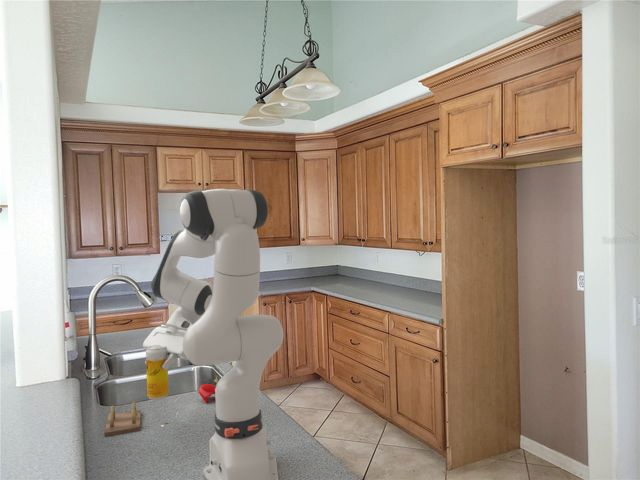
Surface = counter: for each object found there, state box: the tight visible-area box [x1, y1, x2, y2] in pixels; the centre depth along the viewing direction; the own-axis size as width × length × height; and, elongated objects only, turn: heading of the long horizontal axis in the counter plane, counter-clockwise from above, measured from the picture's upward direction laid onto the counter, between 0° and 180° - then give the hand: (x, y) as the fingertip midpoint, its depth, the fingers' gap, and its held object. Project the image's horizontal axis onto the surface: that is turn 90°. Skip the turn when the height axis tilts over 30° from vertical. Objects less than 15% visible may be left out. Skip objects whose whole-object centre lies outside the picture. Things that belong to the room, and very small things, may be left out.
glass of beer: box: [145, 345, 170, 401], centre depth 142 cm, size 6×6×15 cm
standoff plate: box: [104, 402, 142, 437], centre depth 151 cm, size 14×10×5 cm
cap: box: [197, 383, 216, 404], centre depth 169 cm, size 8×6×6 cm
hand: (155, 366), depth 141 cm, fingers closed on glass of beer, 6 cm apart
